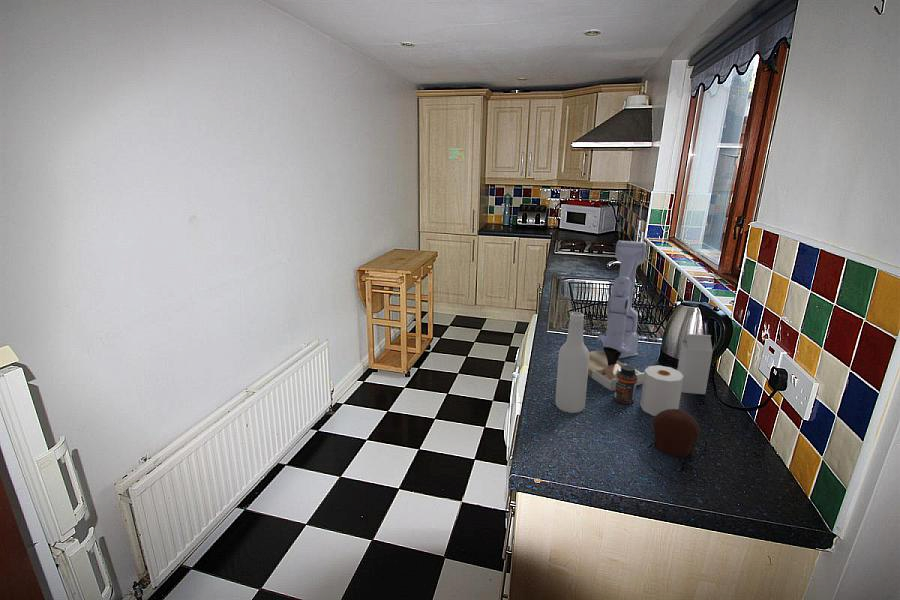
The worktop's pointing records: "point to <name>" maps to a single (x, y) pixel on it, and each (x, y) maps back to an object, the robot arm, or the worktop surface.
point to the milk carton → (695, 363)
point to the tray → (611, 383)
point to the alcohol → (572, 368)
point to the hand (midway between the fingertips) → (611, 367)
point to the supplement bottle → (626, 385)
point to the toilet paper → (661, 389)
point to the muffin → (675, 432)
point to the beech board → (598, 362)
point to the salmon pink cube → (612, 370)
